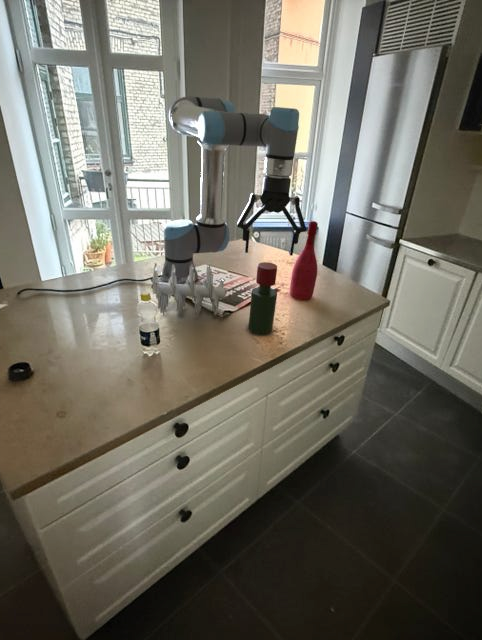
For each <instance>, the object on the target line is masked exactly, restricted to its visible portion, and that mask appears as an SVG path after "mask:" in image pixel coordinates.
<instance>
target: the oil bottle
mask: <svg viewBox="0 0 482 640" xmlns="http://www.w3.org/2000/svg"><path fill="white" fill-rule="evenodd" d="M277 298H278V292H277V290H276V289H274V288H272V286H262V285H259V286H256V287H254V288H252V289H251V296H250V304H249V305H250V307H249V316H248V328H247V329H248V331H249V332H250V333H251V334H253V335H256V336H268V335H270V334H271V333H272V332H273V328H274V322H275V321H274V320H275V314H276V306H277Z"/></svg>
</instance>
